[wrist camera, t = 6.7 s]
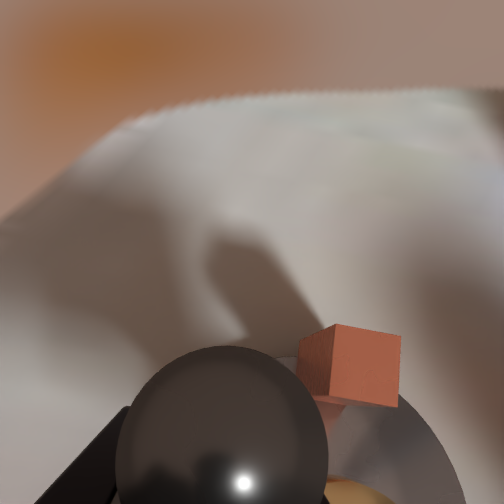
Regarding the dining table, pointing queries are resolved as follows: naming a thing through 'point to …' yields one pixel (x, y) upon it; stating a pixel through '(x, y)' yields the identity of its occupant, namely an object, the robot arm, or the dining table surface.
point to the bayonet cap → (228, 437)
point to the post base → (373, 417)
